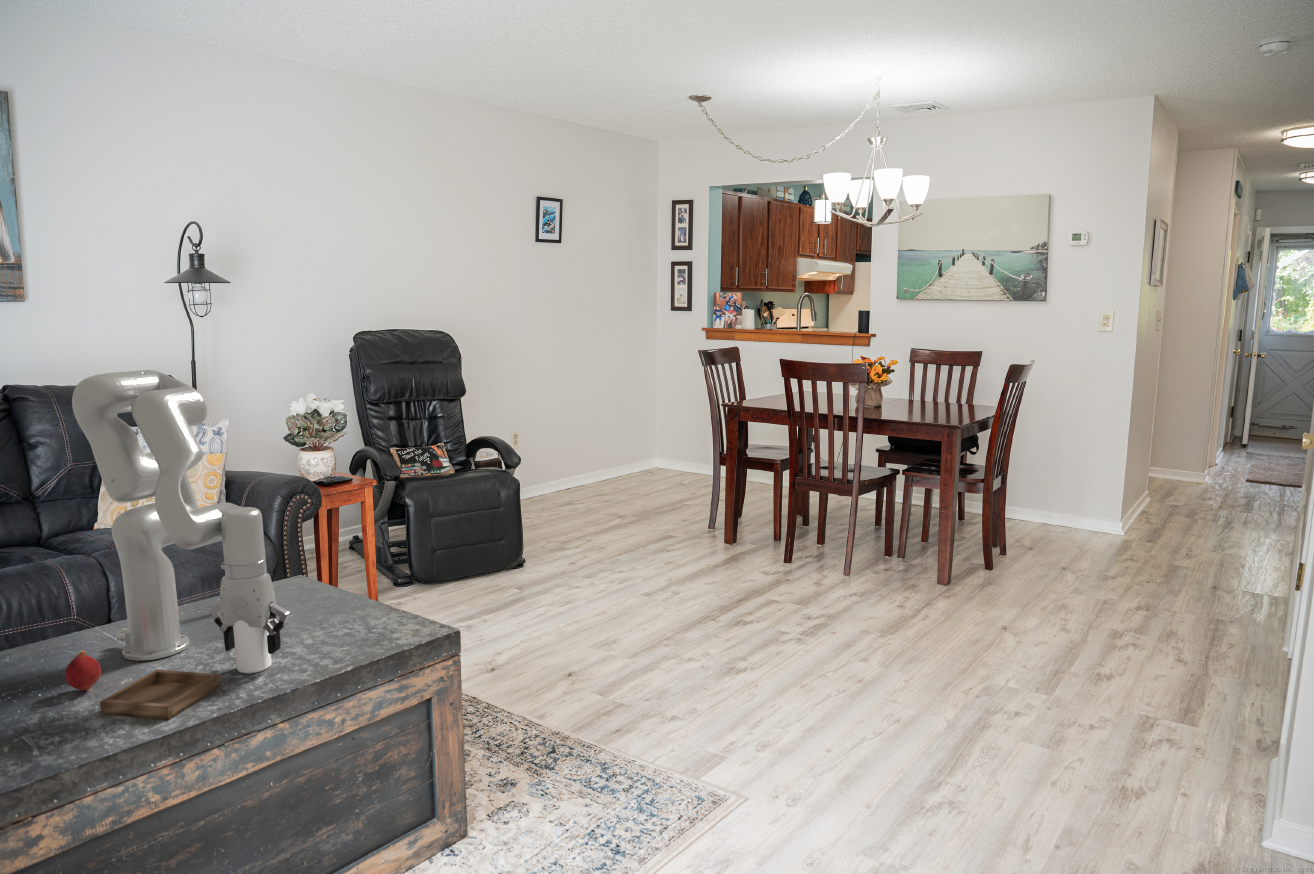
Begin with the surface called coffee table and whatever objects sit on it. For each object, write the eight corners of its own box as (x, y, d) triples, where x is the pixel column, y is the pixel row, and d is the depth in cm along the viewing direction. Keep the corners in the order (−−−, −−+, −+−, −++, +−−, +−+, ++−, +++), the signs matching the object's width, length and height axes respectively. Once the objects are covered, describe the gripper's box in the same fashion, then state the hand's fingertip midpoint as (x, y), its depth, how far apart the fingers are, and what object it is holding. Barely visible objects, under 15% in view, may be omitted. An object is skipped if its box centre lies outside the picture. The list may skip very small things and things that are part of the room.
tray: (101, 713, 160) (99, 701, 159) (157, 681, 173) (156, 669, 173) (168, 719, 157) (167, 706, 157) (220, 686, 171) (219, 674, 170)
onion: (76, 699, 166) (71, 659, 164) (61, 692, 169) (56, 653, 167) (108, 688, 170) (104, 649, 169) (93, 681, 173) (89, 643, 172)
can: (258, 675, 176) (253, 618, 174) (230, 673, 177) (224, 616, 175) (278, 662, 182) (273, 607, 180) (250, 660, 183) (246, 605, 181)
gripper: (194, 572, 174) (202, 654, 177) (273, 576, 171) (280, 660, 174) (220, 561, 181) (227, 640, 184) (295, 565, 178) (302, 645, 181)
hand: (253, 649), depth 179 cm, fingers open, 9 cm apart
